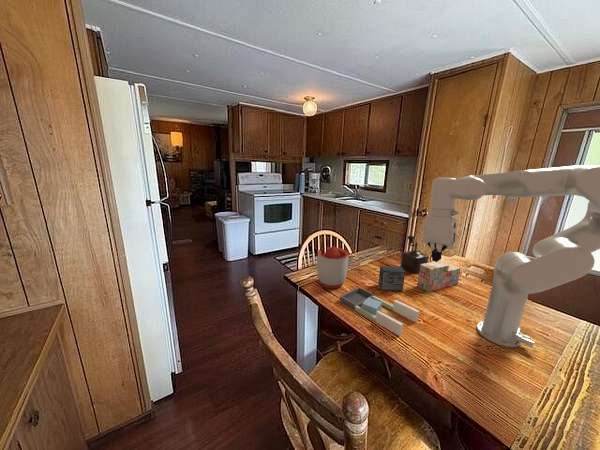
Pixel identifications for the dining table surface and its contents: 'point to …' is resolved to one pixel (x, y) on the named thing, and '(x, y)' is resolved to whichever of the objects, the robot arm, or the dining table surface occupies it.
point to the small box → (391, 278)
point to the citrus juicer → (332, 267)
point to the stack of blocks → (437, 276)
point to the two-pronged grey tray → (360, 295)
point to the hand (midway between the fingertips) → (435, 260)
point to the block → (372, 305)
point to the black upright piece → (413, 258)
